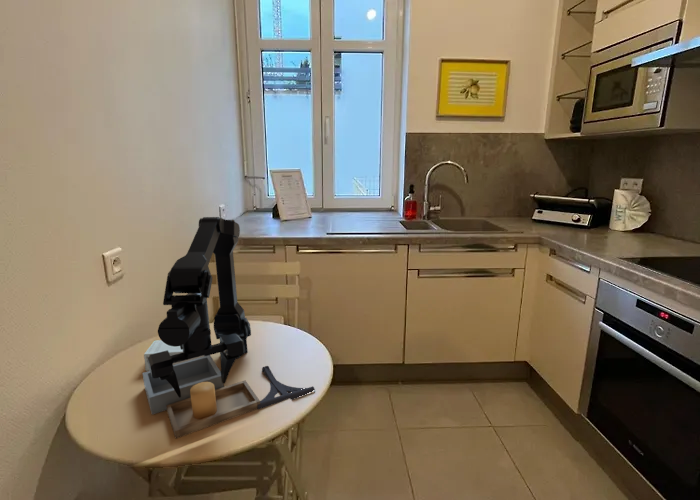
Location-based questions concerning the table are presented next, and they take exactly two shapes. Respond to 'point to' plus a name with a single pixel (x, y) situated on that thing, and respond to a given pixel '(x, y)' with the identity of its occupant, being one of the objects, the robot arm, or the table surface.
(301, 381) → the table surface
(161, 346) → the skincare box
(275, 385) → the bracket
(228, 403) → the walnut tray
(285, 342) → the table surface
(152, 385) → the grey storage bin
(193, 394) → the tan cylinder
